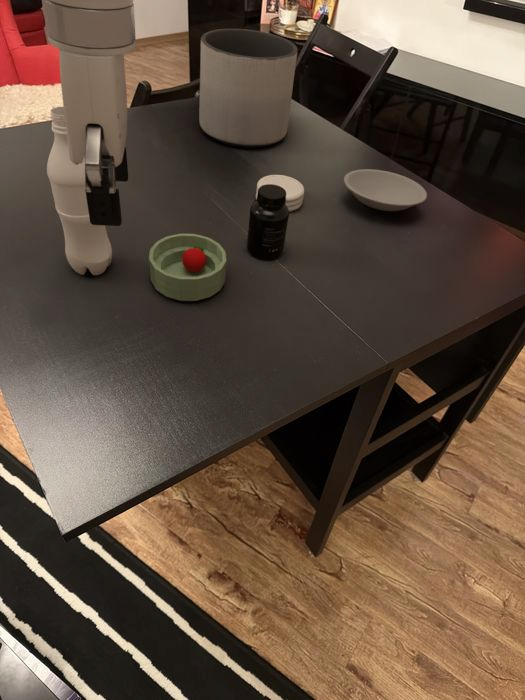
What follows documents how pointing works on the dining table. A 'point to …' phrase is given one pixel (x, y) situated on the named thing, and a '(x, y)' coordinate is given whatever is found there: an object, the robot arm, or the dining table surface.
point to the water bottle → (75, 205)
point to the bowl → (173, 274)
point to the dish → (384, 189)
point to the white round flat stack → (291, 187)
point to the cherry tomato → (194, 259)
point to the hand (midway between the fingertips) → (110, 200)
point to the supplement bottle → (268, 223)
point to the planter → (246, 86)
